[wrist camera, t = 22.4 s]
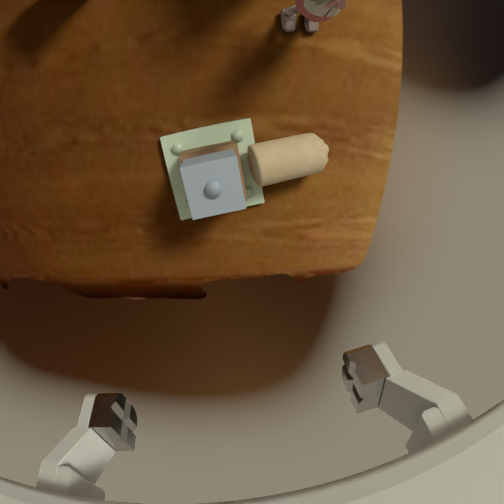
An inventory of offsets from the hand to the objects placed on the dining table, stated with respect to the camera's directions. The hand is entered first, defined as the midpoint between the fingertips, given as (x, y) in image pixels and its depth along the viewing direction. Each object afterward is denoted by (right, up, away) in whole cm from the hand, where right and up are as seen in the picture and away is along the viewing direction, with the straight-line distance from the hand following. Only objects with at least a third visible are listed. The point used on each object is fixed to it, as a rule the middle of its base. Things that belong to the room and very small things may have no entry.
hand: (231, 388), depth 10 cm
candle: (+1, +15, +28) cm, 32 cm away
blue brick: (-4, +14, +27) cm, 30 cm away
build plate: (-4, +16, +31) cm, 35 cm away
